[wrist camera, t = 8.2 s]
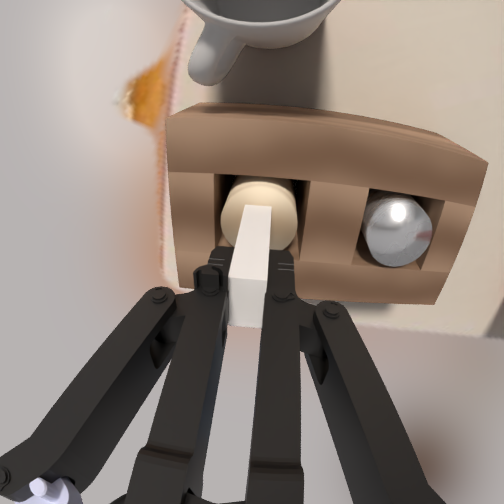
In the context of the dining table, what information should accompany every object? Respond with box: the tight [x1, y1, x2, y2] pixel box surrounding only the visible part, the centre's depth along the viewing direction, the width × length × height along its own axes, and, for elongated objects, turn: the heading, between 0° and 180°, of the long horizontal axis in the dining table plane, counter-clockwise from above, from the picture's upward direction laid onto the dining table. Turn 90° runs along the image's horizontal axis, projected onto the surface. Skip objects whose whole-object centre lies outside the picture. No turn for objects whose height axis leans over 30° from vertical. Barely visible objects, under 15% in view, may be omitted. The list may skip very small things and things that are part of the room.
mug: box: [182, 0, 341, 86], centre depth 13 cm, size 12×8×11 cm
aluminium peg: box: [360, 188, 432, 266], centre depth 21 cm, size 4×4×8 cm
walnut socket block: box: [166, 103, 488, 305], centre depth 21 cm, size 12×20×8 cm, turn 88°
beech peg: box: [221, 175, 297, 250], centre depth 21 cm, size 4×4×8 cm
